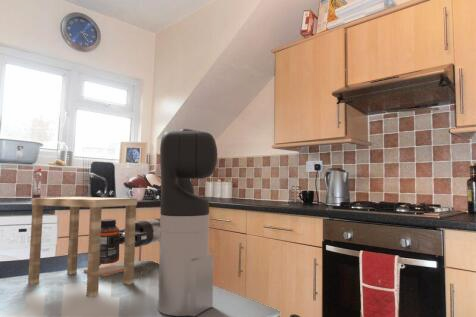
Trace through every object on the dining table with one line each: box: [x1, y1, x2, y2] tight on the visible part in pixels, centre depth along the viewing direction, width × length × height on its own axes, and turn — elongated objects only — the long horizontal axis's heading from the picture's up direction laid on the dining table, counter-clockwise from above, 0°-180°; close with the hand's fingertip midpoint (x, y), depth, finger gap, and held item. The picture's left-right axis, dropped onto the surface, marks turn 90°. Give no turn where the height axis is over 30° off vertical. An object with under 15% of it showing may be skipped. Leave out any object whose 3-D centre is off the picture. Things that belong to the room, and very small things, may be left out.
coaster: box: [83, 263, 124, 277], centre depth 90 cm, size 8×8×1 cm
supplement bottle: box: [99, 218, 120, 265], centre depth 90 cm, size 6×6×11 cm
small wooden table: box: [27, 196, 138, 298], centre depth 79 cm, size 22×12×20 cm, turn 63°
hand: (100, 240), depth 88 cm, fingers closed on supplement bottle, 6 cm apart
